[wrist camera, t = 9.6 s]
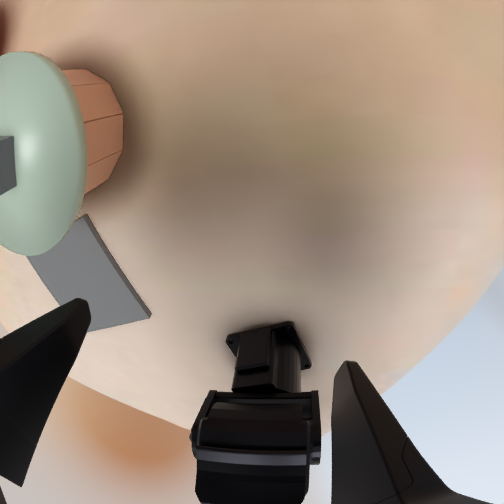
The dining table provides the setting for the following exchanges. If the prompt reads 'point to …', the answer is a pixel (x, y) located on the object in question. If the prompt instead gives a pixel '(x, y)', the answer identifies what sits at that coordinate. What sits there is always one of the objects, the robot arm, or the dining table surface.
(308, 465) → the robot arm
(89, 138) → the bowl
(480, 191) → the dining table surface
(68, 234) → the mat
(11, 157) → the lid
